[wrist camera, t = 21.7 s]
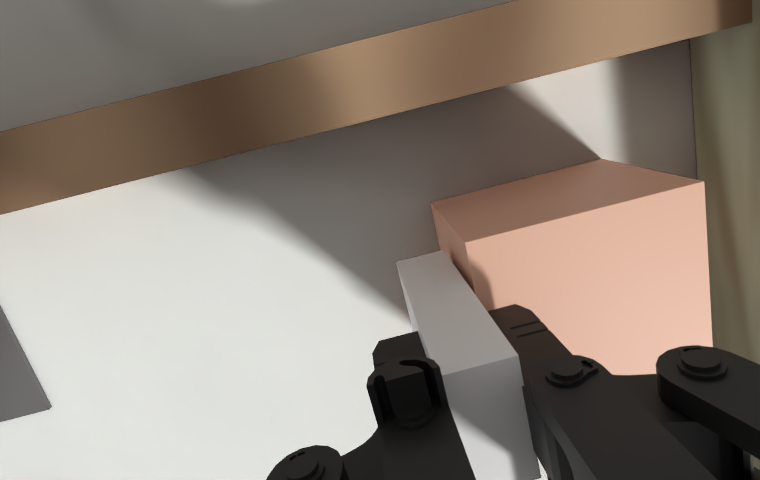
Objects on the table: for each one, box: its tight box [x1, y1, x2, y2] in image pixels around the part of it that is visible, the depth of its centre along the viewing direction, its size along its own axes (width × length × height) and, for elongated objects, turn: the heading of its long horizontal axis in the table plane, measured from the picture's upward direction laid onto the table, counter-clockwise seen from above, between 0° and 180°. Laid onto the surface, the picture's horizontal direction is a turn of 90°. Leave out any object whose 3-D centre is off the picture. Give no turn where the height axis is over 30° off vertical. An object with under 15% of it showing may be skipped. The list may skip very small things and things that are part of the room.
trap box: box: [0, 0, 760, 470], centre depth 16 cm, size 33×23×4 cm
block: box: [430, 159, 713, 375], centre depth 15 cm, size 6×6×5 cm
